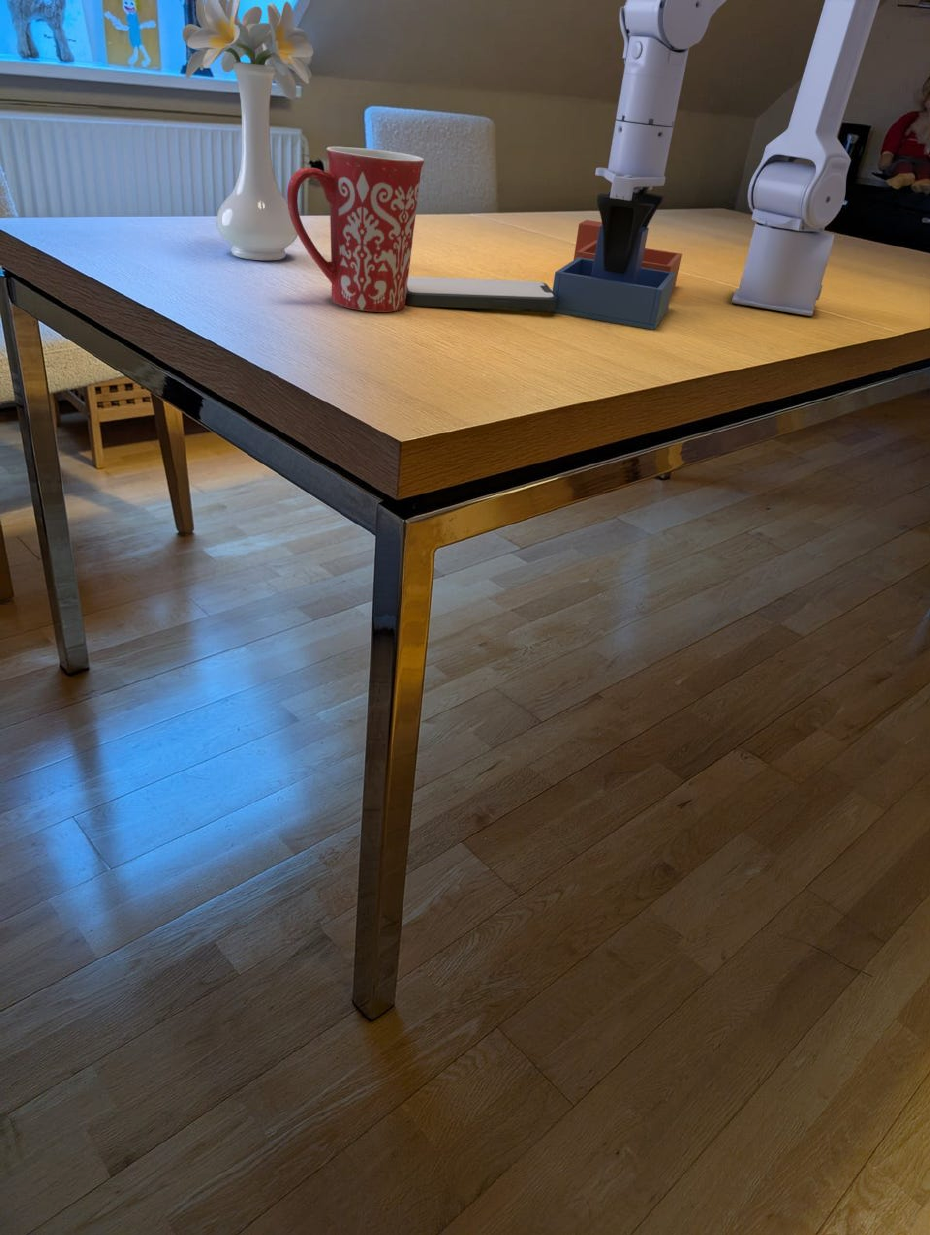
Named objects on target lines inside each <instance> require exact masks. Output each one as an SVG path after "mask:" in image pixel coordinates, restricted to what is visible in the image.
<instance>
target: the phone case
mask: <svg viewBox="0 0 930 1235" xmlns="http://www.w3.org/2000/svg"><path fill="white" fill-rule="evenodd" d="M552 291H553V289H551V287H550V286H549V285H548V284H547V283H545V282H542V281H537V280H517V279H494V278H493V279H490V278H465V277H464V278H463V277H441V276H440V277H439V276H413V275H412V276H408V281H407V291H406V299H405V305H407V306H408V307H409V306H410V307H419V308H420V307H422V308H423V307H425V308H452V309H453V308H454V309H479V310H480V309H481V310H482V309H485V310H507V311H508V310H511V311H524V312H525V311H526V312H550V311H553V310H555V309H557V305H558V297H557V296H556V295H555V294H553V293H552Z"/></svg>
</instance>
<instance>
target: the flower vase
mask: <svg viewBox="0 0 930 1235" xmlns="http://www.w3.org/2000/svg"><path fill="white" fill-rule="evenodd" d="M240 6H241V0H205V1H204V0H196V1H195V11H196V18H197V19H196V20H197V22H198V24H199V26H198V25H195V24H193V23H189V24H186V25H185V26H184V28H183V29H182V39H183V42H184V44H185V45H187V47H188V48H190V49H192V50H196V51H195V52H194V53H193V54H192V55H191V57H190V58H189V60H188V63H187V65H186V70H185V78H186V79H189V78H191V77H192V76H193V75H194V73H195V72H196V71H198V69H199V70H201V71H203V70H204V69H208V68H210V66H212V65H213V64H214V63H215V62H216V60H217V59H218V58H219V57H220V56H221V55H222V57H221V63H220V64H221V69H222V71H223V72H224V73H230V72H232V71H234V73H235V76H236V80H237V85H238V91H239V97H240V106H241V107H240V109H241V158H240V168H239V173H238V177H237V180H236V183H235V186H234V187H233V189H232V191H231V192H230V194H229V195H228V196H227V197H226V198H225V199H224V200H223V202H222V203H221V205H220V206H219V207H218V210H217V214H216V219H215V226H216V229H217V231H218V232H219V234H220V235H221V237H222V238H223V240H225V241H226V242H227V243H228V244H230V245H231V249H230V251H231V254H232V255H233V256H235V257H238V258H241V259H246V260H250V261H251V260H252V261H265V262H266V261H279V260H283V259H284V258H286V256H287V254H286V253H287V252H286V250H285V249H288V247H290V246H291V245H293V243H294V242H295V241H296V240H297V238H298V237H299V236H298V234H297V232H296V230H295V228H294V226H293V223H292V221H291V218H290V214H289V210H288V203H287V199H285V198H284V196H283V195H282V193H281V190H280V188H279V186H278V183H277V180H276V177H275V172H274V168H273V161H272V148H271V146H272V145H271V127H270V107H271V106H270V105H271V96H272V89H273V88H272V87H273V83H274V82H273V81H275V84H276V86H277V88H278V90H279V91H280V93H282V95H283V96H284V97H285V98H286V99H289V100H294V98H296V96H297V91H298V90H297V84H296V81H295V79H294V75H293V74H292V72H291V71H290V70H292V71H293V72H294V73H296V74H297V76H298V77H299V78H300V79H301V80H302V81H303V82H304V83H305V84H306V85H310V79H311V78H312V76H313V75H312V72H311V70H310V68H309V65H310V63H311V62H312V56H313V54H314V49H313V46H312V44H311V43H310V42H309V36H308V34H307V32H306V31H305V30H304V29H302V28H299V27H296V28H295V16H294V11H293V8H292V5H291V3H290V2H289V1H284V3H283V5H282V8H281V13H280V11H279V8H278V7H277V6H276V5H275V3H274V2H269V4H268V5H267V7H266V10H267V22H262V23H261V20H262V16H263V10H262V8H261V7H260V6H257V5H256V6H255V5H254V6H252V7H251V8H249V9H248V10H247V11H246V12H245V13H244V14H243V15H242V16H243V17H242V18H241V20H240V17H239V11H240ZM244 56H247V58H248V59H249V62H244V61H242V60H241V59H242V57H244ZM289 69H290V70H289Z"/></svg>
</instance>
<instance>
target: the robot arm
mask: <svg viewBox="0 0 930 1235" xmlns="http://www.w3.org/2000/svg"><path fill="white" fill-rule="evenodd" d="M727 1H728V0H626V1H625V4H624V5H623V6H620V8H619V27H620V31H621V36H622V37H623V41H624V43H623V44H624V45H623V52H622V59H624V60H623V65H624V68H623V75H622V81H621V87H620V92H619V93H620V94H619V99H618V105H617V110H616V117H615V122H614V123H615V124H614V130H613V136H612V142H611V148H610V153H609V154H610V155H609V160H608V167H596V168H595V176H597V177H603V178H604V179H606V180H607V181H608V182H611V189H610V191H609V192H608V194H607V193H598V194H597V197H596V205H597V208H598V212H599V216H600V220H601V222H602V227H603V260H604V271H608V272H615V273H621V274H623V273H624V272H625V270H626V268H627V266H628V263H629V261H630V258H631V255H632V251H633V248H634V245H635V242H636V239H637V237H638V234H639V231H640V229H641V227H646V228H649V225H650V223H651V221H652V219H653V217H654V215H655V213H656V212H657V210H658V209H659V207H660V206H661V204H662V203H663V201H664V196H663V195H662V194H656V193H648V191H651V190H653V187H664V185H665V183H666V178H667V177H666V176H665V172H666V167H667V162H668V157H669V152H670V147H671V142H672V138H673V137H672V136H673V132H674V126H675V121H676V116H677V113H678V112H677V111H678V107H679V102H680V96H681V92H682V86H683V81H684V75H685V70H686V65H687V60H688V55H689V50H690V48H692V47H693V46H694V45H696V44H697V45H698V44H699V43H700V42H701V40H702V39H703V37H704V36H705V34H706V32H707V30H708V27H709V23H710V20H711V18H712V16H713V15H714V14H715V13H716V12H717V10H718V9H719V8H720V7H722V5H724V4H725V3H726V2H727ZM880 1H881V0H824V4H823V6H822V11H821V14H820V17H819V21H818V24H817V27H816V31H815V34H814V38H813V41H812V44H811V48H810V52H809V55H808V59H807V62H806V65H805V68H804V71H803V76H802V79H801V83H800V86H799V89H798V92H797V95H796V100H795V102H794V107H793V111H792V114H791V116H790V119H789V123H788V127H787V128H786V130H784V131H783V132H782V133H781V134H780V135H778V136H776V137H775V138H773V140H772V141H770V142H769V143H768V144H766V146H765V149H764V152H763V156H762V158H761V161H760V163H759V165H758V166H757V168H756V170H755V171H754V173H753V174H752V177H751V179H750V182H749V185H748V190H747V204H748V207H749V209H750V211H751V213H752V214H751V221H755V222H754V227H753V231H752V235H751V238H750V243H749V246H748V247H749V248H748V250H747V255H746V258H745V262H744V265H743V266H744V267H743V270H742V275H741V277H740V278H741V279H740V283H739V287H738V288H735V291H734V293H733V296H732V298H731V303H732V304H736V305H742V306H748V307H754V308H760V309H766V310H772V311H779V312H784V313H790V314H796V315H802V316H807V317H812V316H813V315H814V310H815V307H816V303H817V301H819V299H820V298H821V293H822V290H823V285H824V284H822V283H823V280H824V276H825V273H826V270H827V267H828V263H829V260H830V255H831V252H832V248H833V244H834V240H835V235H834V234H833V233H829V232H824V231H825V228H826V227H827V226H828V225H829V224H831V223H832V222H833V220H834V219H835V218H836V217H837V215H838V214H839V212H840V211H841V208H842V206H843V204H844V201H845V196H846V187H847V175H848V172H849V168H850V165H851V162H852V159H851V157H850V155H849V154H848V152H847V151H846V149H845V148H844V146H843V145H842V143H841V142H840V140H839V138H838V134H839V130H840V128H841V124H842V120H843V117H844V114H845V111H846V108H847V105H848V101H849V99H850V95H851V93H852V89H853V87H854V83H855V80H856V77H857V75H858V74H857V73H858V70H859V67H860V63H861V62H862V58H863V54H864V51H865V48H866V46H867V42H868V38H869V35H870V34H871V33H870V32H871V29H872V26H873V23H874V20H875V17H876V13H877V10H878V7H879V4H880ZM798 160H807V161H812V162H813V164H814V165H812V164H805V163H799V162H796V161H798Z"/></svg>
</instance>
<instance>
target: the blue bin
mask: <svg viewBox="0 0 930 1235" xmlns="http://www.w3.org/2000/svg"><path fill="white" fill-rule="evenodd" d="M593 263H594V260H592V259H586V258H580V257H578V258H576V259H575V260H574V259H573V260H571V261H570V262H568V263H567V264H566V265H563V266H562V267H561V268H559V269H558V270H556V271H555V272H554V277H553V284H552V293H553V294H555V295H556V296H557V297H558V305H557V309H555V310H553V311H549V312H551V313H554V314H555V313H556V314H563V315H566V316H572V317H579V318H585V319H590V320H595V321H602V322H607V323H613V324H618V325H623V326H628V327H629V326H630V327H635V328H641V329H646V330H651V331H654V330H656V329H657V326H658V325H659V324H660V322H661V321H662V320H663V317H664V316H665V315H666V313H667V312H668V311H669V308H670V302H671V298H672V293H673V290H674V289H673V284H674V279H675V275H676V273H672V272H671V273H670V272H666V271H660V270H654V269H648V268H642V267H641V272H640V277H639V282H638V283H637V284H631V283H625V282H619V281H613V280H607V279H601V278H595V277H591V275H592V269H593ZM672 289H673V290H672Z"/></svg>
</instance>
